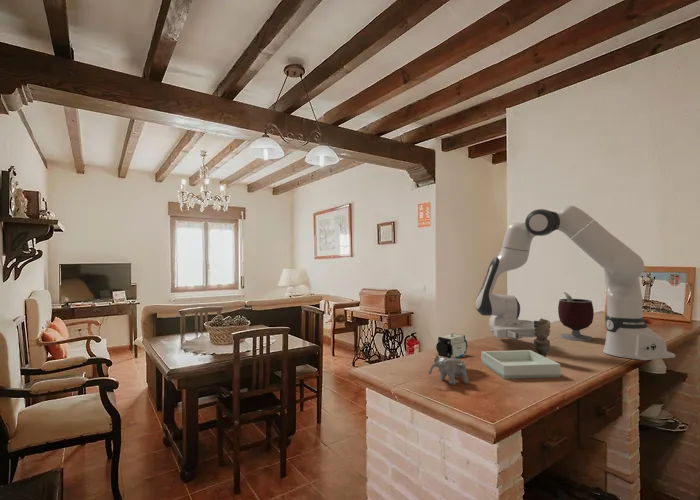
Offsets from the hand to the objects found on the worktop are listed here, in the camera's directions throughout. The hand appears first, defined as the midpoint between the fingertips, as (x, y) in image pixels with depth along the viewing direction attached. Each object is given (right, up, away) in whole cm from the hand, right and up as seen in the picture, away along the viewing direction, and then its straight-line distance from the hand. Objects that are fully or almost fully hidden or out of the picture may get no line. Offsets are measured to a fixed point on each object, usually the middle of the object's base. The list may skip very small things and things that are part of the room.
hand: (528, 335), depth 148 cm
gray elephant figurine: (-39, -7, -33) cm, 52 cm away
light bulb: (0, -7, -10) cm, 12 cm away
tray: (-13, -7, -21) cm, 25 cm away
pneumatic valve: (-34, -7, -19) cm, 40 cm away
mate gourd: (+34, -7, +27) cm, 44 cm away
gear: (-29, -8, -2) cm, 30 cm away
